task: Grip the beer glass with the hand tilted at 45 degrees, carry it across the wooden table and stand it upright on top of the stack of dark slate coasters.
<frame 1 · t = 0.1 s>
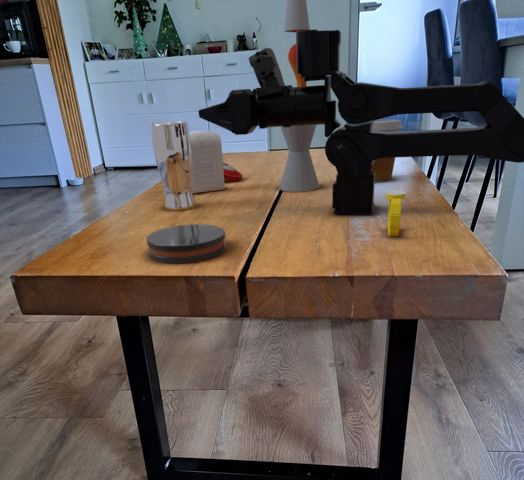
hand: (208, 111, 84), 17 cm above the table, tool horizontal, fingers open, 9 cm apart
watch: (392, 235, 72), on the table
beer glass: (180, 208, 96), on the table
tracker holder: (225, 180, 121), on the table
disposable coffee cup: (376, 180, 110), on the table
photo printer: (203, 192, 109), on the table
coaster stack: (188, 250, 70), on the table
lava lamp: (299, 188, 107), on the table
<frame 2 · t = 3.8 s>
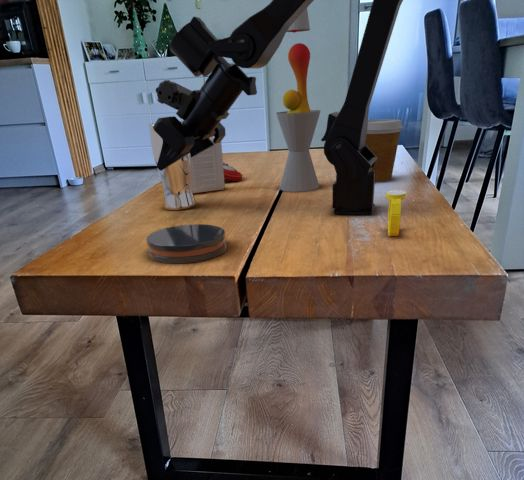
hand: (167, 165, 92), 8 cm above the table, tool tilted 45°, fingers closed on beer glass, 7 cm apart
beer glass: (180, 207, 96), on the table, touching gripper
everything else where it was.
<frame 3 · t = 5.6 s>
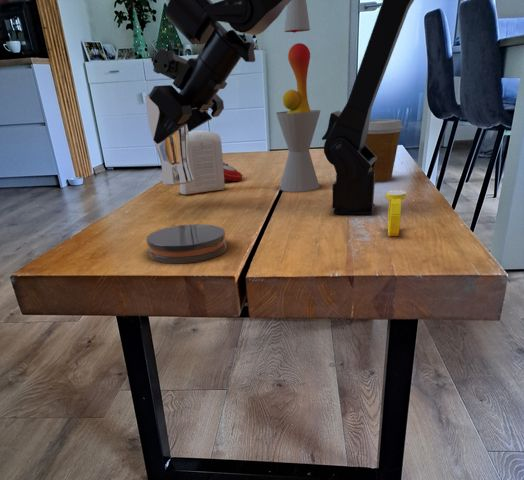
hand: (165, 139, 90), 12 cm above the table, tool tilted 45°, fingers closed on beer glass, 7 cm apart
beer glass: (178, 183, 93), point 4 cm above the table, touching gripper
everything else where it was.
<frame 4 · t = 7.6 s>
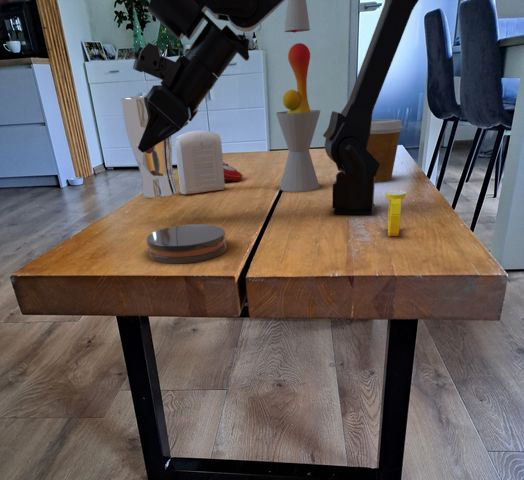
hand: (144, 148, 79), 12 cm above the table, tool tilted 45°, fingers closed on beer glass, 7 cm apart
beer glass: (161, 196, 83), point 4 cm above the table, touching gripper
everything else where it was.
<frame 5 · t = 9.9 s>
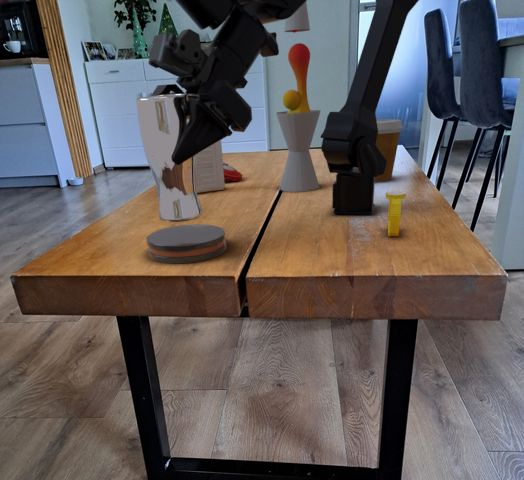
hand: (163, 160, 64), 12 cm above the table, tool tilted 45°, fingers closed on beer glass, 7 cm apart
beer glass: (181, 217, 69), point 4 cm above the table, touching gripper
everything else where it was.
when the fingers open (10 cm above the table, at t = 11.9 s): beer glass stays where it is, resting on coaster stack.
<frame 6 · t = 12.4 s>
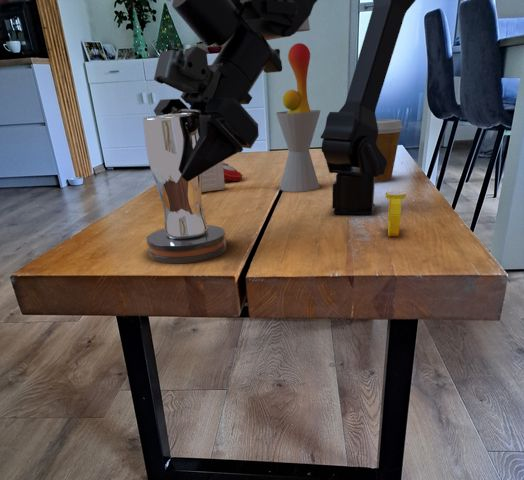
hand: (168, 175, 64), 11 cm above the table, tool tilted 45°, fingers open, 9 cm apart
beer glass: (187, 234, 69), point 2 cm above the table, touching coaster stack, gripper
everything else where it was.
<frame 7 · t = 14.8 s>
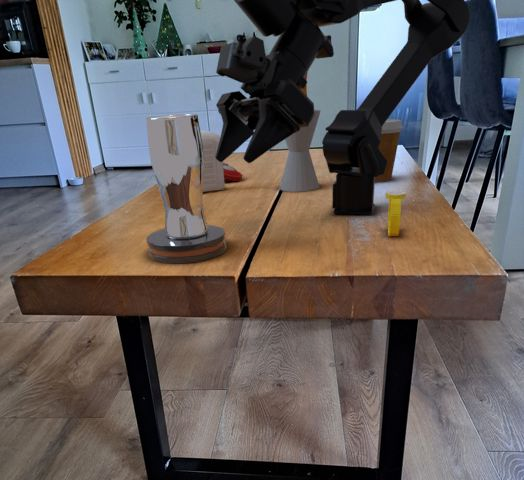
hand: (231, 160, 69), 11 cm above the table, tool tilted 40°, fingers open, 9 cm apart
beer glass: (187, 234, 69), point 2 cm above the table, touching coaster stack
everything else where it was.
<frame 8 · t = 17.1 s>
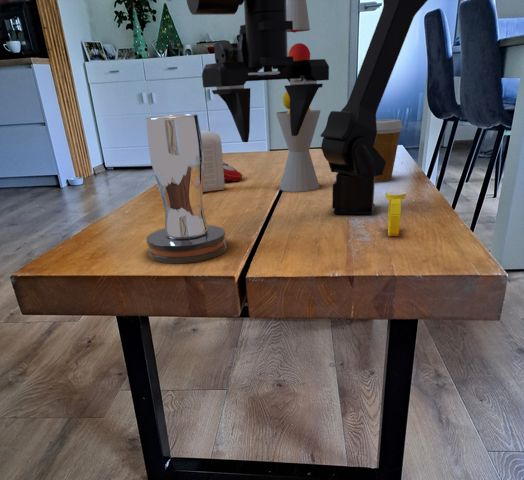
hand: (270, 138, 74), 13 cm above the table, tool pointing down, fingers open, 9 cm apart
nothing on the table moved.
at the end: beer glass 0.3 cm off-centre on the coaster stack, point 2.2 cm above the coaster stack's base; beer glass tilted 0°; the gripper is holding nothing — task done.
